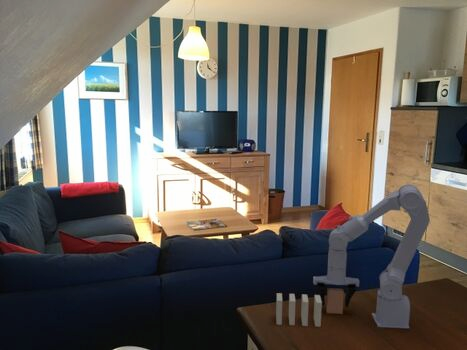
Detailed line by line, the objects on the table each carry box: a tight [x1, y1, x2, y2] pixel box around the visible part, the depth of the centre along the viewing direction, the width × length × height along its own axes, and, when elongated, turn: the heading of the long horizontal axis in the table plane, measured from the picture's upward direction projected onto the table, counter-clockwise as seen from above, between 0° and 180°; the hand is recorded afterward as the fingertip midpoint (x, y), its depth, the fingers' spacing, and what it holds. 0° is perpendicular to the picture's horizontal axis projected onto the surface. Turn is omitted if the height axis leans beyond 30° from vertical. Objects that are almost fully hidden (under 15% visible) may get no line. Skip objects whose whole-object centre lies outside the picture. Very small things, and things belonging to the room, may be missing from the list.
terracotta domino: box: [326, 287, 345, 315], centre depth 132 cm, size 2×5×8 cm, turn 85°
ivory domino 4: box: [313, 294, 322, 328], centre depth 126 cm, size 2×5×8 cm, turn 175°
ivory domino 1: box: [275, 292, 283, 326], centre depth 127 cm, size 2×5×8 cm, turn 175°
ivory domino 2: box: [288, 293, 296, 326], centre depth 127 cm, size 2×5×8 cm, turn 175°
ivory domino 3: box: [300, 294, 309, 327], centre depth 126 cm, size 2×5×8 cm, turn 175°
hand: (334, 304), depth 132 cm, fingers open, 7 cm apart
